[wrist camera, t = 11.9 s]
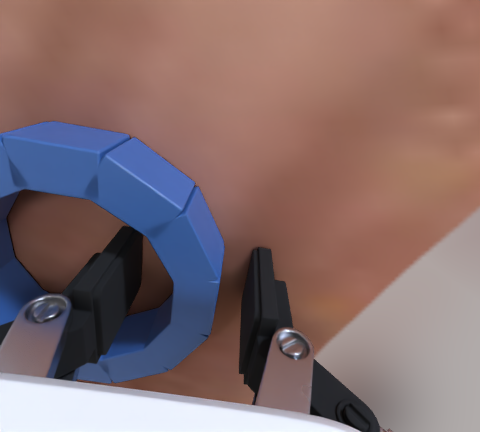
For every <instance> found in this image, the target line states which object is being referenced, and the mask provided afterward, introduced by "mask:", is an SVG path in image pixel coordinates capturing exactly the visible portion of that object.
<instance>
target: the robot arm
mask: <svg viewBox="0 0 480 432" xmlns="http://www.w3.org/2000/svg"><path fill="white" fill-rule="evenodd" d="M141 269H142V233H140V232H138V231H137V230H135V229H134V228H132V227H127V226H123V227H122V228H121V229H120V230H119V232H118V233H117V234H116V235H115V237H114V238H113V239H112V240H111V242H110V243H109V244H108V245H107V247H106V248H105V249H104V250H103V252H102V253H96V254H94V255H93V257H92V258H91V259H90V260H89V261H88V263H87V264H86V265H85V266H84V267H83V269H82V270H81V271H80V272H79V273H78V274H77V276H76V277H75V278H74V279H73V280H72V282H71V283H70V284H69V285H68V286H67V288H66V289H65V290H64V291H63V292H62V294H56V293H52V294H45V295H41V296H38V297H36V298H34V299H32V300H30V301H29V302H27V303H26V304H25V305H24V306H23V307H22V308H21V310H20V311H19V313H18V315H17V317H16V318H15V320H14V321H11V322H8V323H5V324H3V325H0V432H393V431H392V430H390V429H388V430H387V431H385V430H384V429H383V428H381V427H380V426H379V424H378V421H377V418H376V417H375V415H374V414H373V412H372V411H371V410H370V409H369V407H368V406H367V405H366V404H365V403H363V402H362V401H361V400H360V399H359V398H358V397H357V396H356V395H354V394H353V393H352V392H351V391H350V390H349V389H348V388H346V387H345V386H344V385H343V384H342V383H341V382H340V381H338V380H337V379H336V378H335V377H334V376H333V375H332V374H331V373H329V372H328V371H327V370H326V369H325V368H324V367H323V366H321V365H320V364H319V363H318V362H317V361H316V360H315V359H314V346H313V344H312V342H311V340H310V339H309V338H308V337H307V336H306V335H305V334H304V333H303V332H301V331H299V330H297V329H294V328H293V324H292V318H291V312H290V306H289V299H288V293H287V287H286V283H285V282H284V281H278V280H274V271H273V262H272V254H271V249H266V248H259V247H258V249H257V250H253V252H252V256H251V260H250V265H249V269H248V274H247V278H246V283H245V287H244V291H243V296H242V303H241V328H240V356H239V374H244V384H247V385H248V386H249V387H250V388H251V390H252V391H253V392H254V393H255V394H254V398H253V402H252V405H247V404H240V403H233V402H226V401H218V400H211V399H204V398H197V397H189V396H182V395H175V394H167V393H160V392H152V391H145V390H137V389H129V388H122V387H114V386H106V385H99V384H91V383H83V382H76V381H77V378H78V374H79V369H80V367H81V366H83V365H85V364H87V363H92V364H97V362H98V361H99V359H100V357H101V355H106V354H107V352H108V351H109V349H110V347H111V345H112V343H113V341H114V339H115V337H116V335H117V333H118V331H119V329H120V327H121V325H122V323H123V321H124V319H125V317H126V315H127V313H128V311H129V309H130V307H131V305H132V303H133V301H134V299H135V297H136V295H137V293H138V291H139V288H140V285H141Z"/></svg>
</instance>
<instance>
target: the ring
mask: <svg viewBox="0 0 480 432" xmlns="http://www.w3.org/2000/svg"><path fill="white" fill-rule="evenodd" d="M194 185H195V182H194V181H192V180H191V179H190V178H188V177H187V176H186V175H184V174H183V173H182V172H180V171H179V170H178V169H176V168H175V167H174V166H173V165H171V164H170V163H169V162H167V161H166V160H165V159H163V158H162V157H161V156H159V155H158V154H157V153H155V152H154V151H153V150H151V149H150V148H149V147H147V146H146V145H145V144H143V143H142V142H141V141H139V140H138V139H137V138H135V137H133V138H132V139H130V136H129V135H128V134H123V133H118V132H112V131H106V130H101V129H95V128H90V127H84V126H78V125H73V124H67V123H61V122H56V121H52V122H43V123H39V124H35V125H31V126H28V127H24V128H20V129H16V130H13V131H9V132H5V133H1V134H0V325H3V324H5V323H8V322H11V321H14V320H15V318H16V317H17V315H18V313H19V311H20V310H21V308H22V307H23V306H24V305H25V304H26V303H27V302H29V301H30V300H32V299H34V298H36V297H38V296H41V295H45V294H50V293H48V292H46V291H44V290H43V289H42V288H41V287H40V286H39V285H38V284H37V282H36V281H35V280H34V279H33V278H32V277H31V275H30V274H29V273H28V272H27V271H26V270H25V268H24V267H23V266H22V265H21V264H20V263H19V261H18V260H17V259H16V258H15V255H14V251H13V246H12V242H11V238H10V233H9V229H8V224H7V220H6V217H7V215H8V213H9V211H10V210H11V208H12V206H13V204H14V202H15V200H16V198H17V196H18V194H19V192H20V191H21V190H24V189H27V190H33V191H39V192H45V193H51V194H57V195H64V196H70V197H76V198H82V199H88V200H91V201H93V202H94V203H96V204H97V205H99V206H100V207H102V208H103V209H105V210H106V211H108V212H109V213H111V214H112V215H114V216H116V217H117V218H119V219H120V220H122V221H123V222H125V223H126V224H128V225H129V226H131V227H132V228H134V229H135V230H137V231H138V232H140V233H142V234H143V235H145V236H146V237H147V238H148V240H149V242H150V243H151V245H152V247H153V248H154V250H155V252H156V253H157V255H158V257H159V258H160V260H161V262H162V263H163V265H164V267H165V269H166V270H167V272H168V274H169V275H170V277H171V279H172V280H173V282H174V285H173V294H172V295H171V296H170V297H169V298H168V299H167V300H166V301H165V302H164V303H163V304H162V305H161V306H160V307H159V308H156V309H152V310H148V311H145V312H141V313H137V314H133V315H130V316H126V317H125V319H124V321H123V323H122V325H121V327H120V329H119V331H118V333H117V335H116V337H115V339H114V341H113V343H112V345H111V347H110V349H109V351H108V352H107V354H106V355H101V357H100V359H99V361H98V362H97V364H92V363H87V364H85V365H83V366H81V367H80V369H79V374H78V378H77V379H79V380H87V381H94V382H102V383H109V384H110V383H111V382H112V381H113V382H114V383H119V382H124V381H128V380H133V379H137V378H142V377H146V376H151V375H155V374H160V373H164V372H167V371H168V369H169V370H172V369H173V368H174V367H175V366H176V365H178V364H179V363H180V362H181V361H182V360H183V359H185V358H186V357H187V356H188V355H189V354H190V353H191V352H193V351H194V350H195V349H196V348H197V347H198V346H199V345H201V344H202V343H203V342H204V341H205V340H206V339H207V338H208V336H209V335H210V334H211V330H212V324H213V318H214V313H215V307H216V302H217V296H218V290H219V285H220V278H221V271H222V264H223V256H224V249H225V246H224V241H223V239H222V236H221V234H220V232H219V230H218V228H217V226H216V223H215V221H214V219H213V217H212V215H211V213H210V210H209V208H208V206H207V204H206V202H205V199H204V197H203V195H202V193H201V191H200V189H199V187H194Z"/></svg>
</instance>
